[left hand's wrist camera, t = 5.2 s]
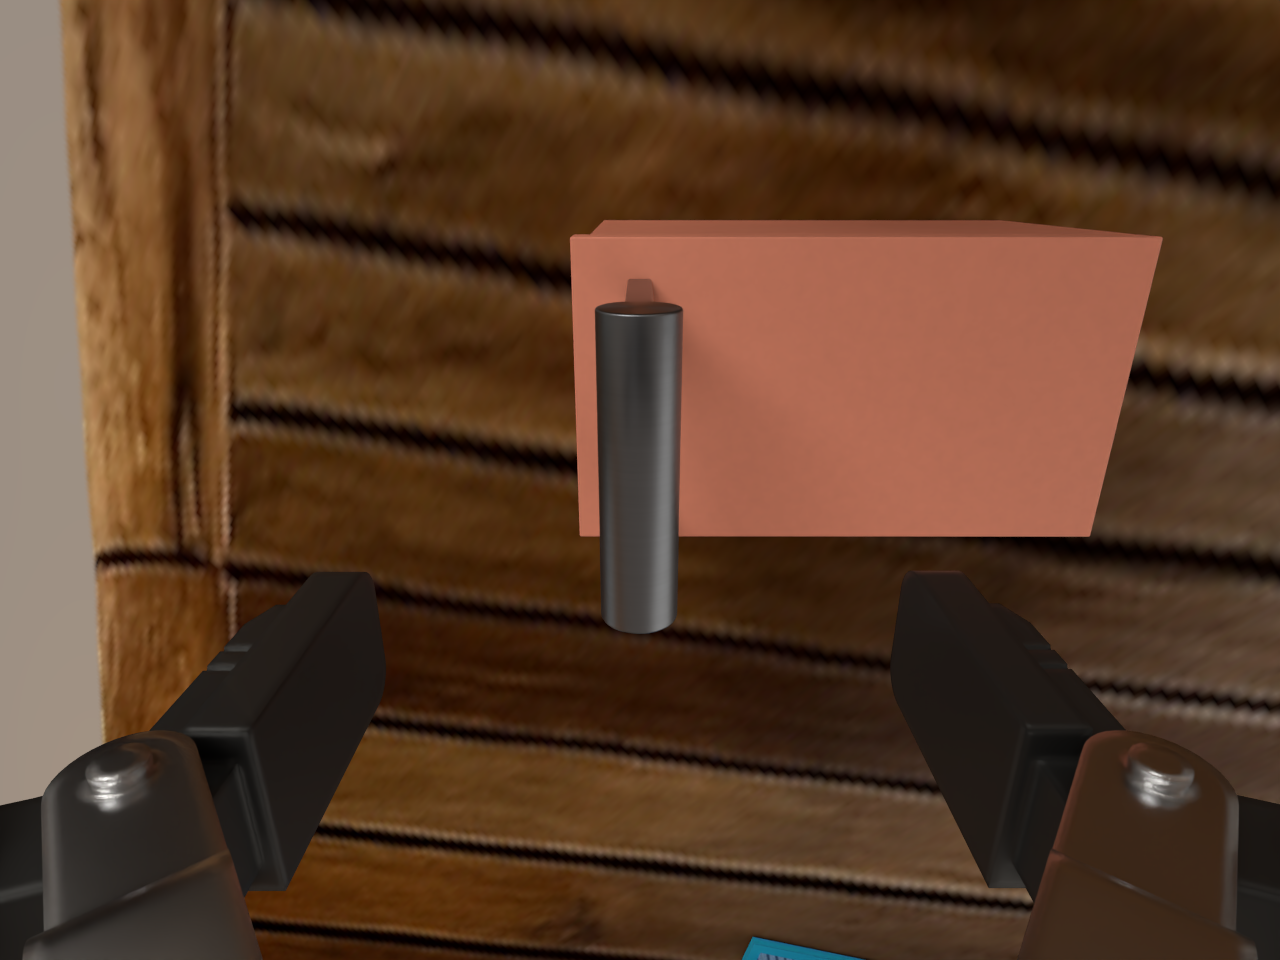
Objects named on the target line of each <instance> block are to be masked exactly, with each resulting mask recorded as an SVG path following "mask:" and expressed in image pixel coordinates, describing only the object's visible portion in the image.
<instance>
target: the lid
mask: <svg viewBox="0 0 1280 960" xmlns="http://www.w3.org/2000/svg"><path fill="white" fill-rule="evenodd" d="M1162 239H1163V238H1162V237H1157V236H1148V235H573V236H572V237H571V238H570V249H571V279H572V310H573V340H574V371H575V401H576V432H577V463H578V493H579V524H580V536H600V572H601V614H602V617H603V619H604V621H605V622H606V623H607V624H608V625H609V626H610V627H612V628H614V629H616V630H619V631H622V632H626V633H633V634H646V633H652V632H656V631H660V630H662V629H664V628H666V627H668V626H669V625H671V624H672V623H673V621H674V620H675V618H676V616H677V588H678V540H679V536H925V537H1089V536H1090V533H1091V529H1092V525H1093V521H1094V517H1095V513H1096V509H1097V505H1098V501H1099V497H1100V493H1101V488H1102V484H1103V480H1104V476H1105V472H1106V468H1107V464H1108V460H1109V456H1110V452H1111V448H1112V444H1113V439H1114V435H1115V431H1116V427H1117V423H1118V419H1119V415H1120V411H1121V407H1122V403H1123V399H1124V395H1125V390H1126V386H1127V382H1128V378H1129V374H1130V370H1131V366H1132V362H1133V358H1134V354H1135V350H1136V346H1137V341H1138V337H1139V333H1140V329H1141V325H1142V321H1143V317H1144V313H1145V309H1146V305H1147V301H1148V297H1149V292H1150V288H1151V284H1152V280H1153V276H1154V272H1155V268H1156V264H1157V260H1158V256H1159V252H1160V248H1161V243H1162Z"/></svg>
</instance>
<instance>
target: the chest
mask: <svg viewBox="0 0 1280 960" xmlns="http://www.w3.org/2000/svg"><path fill="white" fill-rule="evenodd" d="M590 235H1134V234H1127V233H1117V232H1108V231H1098V230H1088V229H1079V228H1069V227H1059V226H1050V225H1040V224H1031V223H1021V222H1011V221H1002V220H604V221H603V222H602V223H601V224H600V225H599V226H598V227H597V228H596V229H595V230H594V231H593V232H592V233H591V234H590Z"/></svg>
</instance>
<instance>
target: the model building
mask: <svg viewBox="0 0 1280 960" xmlns="http://www.w3.org/2000/svg"><path fill="white" fill-rule="evenodd" d="M742 960H864V959H859V958H854V957H849V956H845V955H840V954H835V953H830V952H825V951H820V950H815V949H810V948H805V947H801V946H796V945H791V944H786V943H781V942H776V941H771V940H766V939H761V938H757V937H753V938H752V940H751V942H750V944H749V946H748V948H747V950H746V952H745V954H744V956H743V958H742Z"/></svg>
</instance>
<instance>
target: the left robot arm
mask: <svg viewBox="0 0 1280 960" xmlns="http://www.w3.org/2000/svg"><path fill="white" fill-rule="evenodd" d="M224 648H225V649H224V652H219V654H218V655H217V656H216V657H215V658H214V659H213V660H212V661H211V662H210V664H209V665H208V666H207V667H208V668H207V671H202V673H201V674H200V675H199V676H198V677H197V678H196V679H195V680H194V681H193V683H192V684H191V685H190V686H189V687H188V688H187V689H186V690H185V692H184V693H183V694H182V695H181V696H180V697H179V698H178V699H177V700H176V702H175V703H174V704H173V705H172V706H171V707H170V708H169V709H168V710H167V712H166V713H165V714H164V715H163V716H162V717H161V718H160V719H159V721H158V722H157V723H156V724H155V725H154V726H153V727H152V728H151V729H150V731H147V732H140V733H136V734H131V735H128V736H124V737H121V738H118V739H115V740H113V741H110V742H108V743H105V744H103V745H101V746H99V747H97V748H95V749H92V750H91V751H89V752H87V753H85V754H84V755H82V756H80V757H79V758H77V759H76V760H75V761H73V762H72V763H70V764H69V765H68V766H67V767H65V768H64V769H63V770H62V771H61V772H60V773H59V774H58V775H57V776H56V777H55V778H54V779H53V780H52V781H51V783H50V784H49V786H48V787H47V788H46V790H45V792H44V795H43V796H41V797H37V798H33V799H28V800H23V801H19V802H14V803H10V804H5V805H1V806H0V960H263V959H262V956H261V952H260V949H259V946H258V942H257V939H256V936H255V933H254V929H253V926H252V923H251V919H250V916H249V913H248V909H247V906H246V903H245V900H244V897H245V895H246V893H247V892H248V891H286V889H287V887H288V885H289V883H290V881H291V879H292V877H293V875H294V873H295V871H296V869H297V867H298V865H299V863H300V861H301V859H302V857H303V855H304V853H305V851H306V849H307V847H308V845H309V843H310V841H311V839H312V837H313V835H314V833H315V831H316V829H317V827H318V825H319V823H320V821H321V819H322V817H323V815H324V813H325V811H326V809H327V807H328V805H329V803H330V801H331V799H332V797H333V795H334V793H335V791H336V789H337V787H338V785H339V783H340V781H341V779H342V777H343V775H344V773H345V771H346V769H347V767H348V765H349V763H350V761H351V759H352V757H353V755H354V753H355V751H356V749H357V747H358V745H359V743H360V741H361V739H362V737H363V735H364V733H365V731H366V729H367V727H368V725H369V723H370V721H371V719H372V717H373V715H374V713H375V711H376V709H377V707H378V705H379V703H380V701H381V698H382V694H383V690H384V685H385V675H386V662H385V654H384V648H383V641H382V634H381V627H380V621H379V614H378V607H377V600H376V594H375V588H374V583H373V580H372V578H371V576H370V575H369V574H368V573H367V572H315V573H313V574H312V575H311V576H310V577H309V578H308V579H307V581H306V582H305V583H304V584H303V585H302V587H301V588H300V589H299V590H298V591H297V593H296V594H295V595H294V596H293V597H292V599H291V600H290V601H289V602H288V603H287V604H286V605H275V606H274V607H272V608H270V609H269V610H267V611H266V612H264V613H262V614H261V615H259V616H257V617H256V618H254V619H253V620H251V621H249V622H248V623H246V624H245V625H244V626H243V627H242V628H241V629H240V630H239V631H238V632H237V633H236V635H235V636H234V637H233V638H232V639H231V640H230V641H229V642H228V644H227V645H226V646H225V647H224ZM890 670H891V682H892V688H893V692H894V696H895V699H896V701H897V704H898V706H899V708H900V710H901V712H902V714H903V716H904V718H905V720H906V722H907V724H908V726H909V728H910V730H911V732H912V734H913V736H914V738H915V740H916V742H917V744H918V746H919V748H920V750H921V752H922V754H923V756H924V758H925V760H926V762H927V764H928V766H929V768H930V770H931V772H932V774H933V776H934V778H935V780H936V782H937V784H938V786H939V788H940V790H941V792H942V794H943V797H944V799H945V801H946V803H947V805H948V807H949V809H950V811H951V813H952V815H953V817H954V819H955V821H956V823H957V825H958V827H959V829H960V831H961V833H962V835H963V837H964V839H965V841H966V843H967V845H968V847H969V849H970V851H971V853H972V855H973V857H974V859H975V861H976V863H977V865H978V867H979V869H980V871H981V873H982V875H983V877H984V879H985V881H986V883H987V885H988V887H989V888H1026V889H1027V891H1028V893H1029V895H1030V896H1031V898H1032V900H1033V902H1034V906H1033V909H1032V913H1031V916H1030V919H1029V923H1028V926H1027V929H1026V933H1025V936H1024V939H1023V942H1022V946H1021V949H1020V952H1019V956H1018V959H1017V960H1280V804H1276V803H1271V802H1267V801H1262V800H1257V799H1253V798H1248V797H1244V796H1239V795H1236V792H1235V790H1234V788H1233V787H1232V786H1231V784H1230V783H1229V781H1228V780H1227V779H1226V778H1225V777H1224V776H1223V775H1222V774H1221V773H1220V772H1219V771H1218V770H1217V769H1216V768H1215V767H1213V766H1212V765H1211V764H1210V763H1208V762H1207V761H1205V760H1204V759H1203V758H1201V757H1200V756H1198V755H1196V754H1195V753H1193V752H1191V751H1189V750H1188V749H1185V748H1183V747H1181V746H1179V745H1177V744H1175V743H1172V742H1170V741H1167V740H1165V739H1162V738H1159V737H1156V736H1152V735H1149V734H1144V733H1140V732H1133V731H1126V730H1125V729H1124V728H1123V727H1122V725H1121V724H1120V723H1119V722H1118V721H1117V720H1116V719H1115V718H1114V716H1113V715H1112V714H1111V713H1110V712H1109V711H1108V710H1107V709H1106V707H1105V706H1104V705H1103V704H1102V703H1101V702H1100V701H1099V700H1098V698H1097V697H1096V696H1095V695H1094V694H1093V693H1092V692H1091V690H1090V689H1089V688H1088V687H1087V686H1086V685H1085V684H1084V683H1083V681H1082V680H1081V679H1080V678H1079V677H1078V676H1077V675H1076V674H1075V672H1074V671H1073V670H1072V669H1068V668H1067V663H1066V662H1065V661H1064V660H1063V659H1062V658H1061V657H1060V656H1059V654H1058V653H1057V652H1056V651H1055V650H1051V648H1050V644H1049V643H1048V642H1047V641H1046V640H1045V639H1044V638H1043V636H1042V635H1041V634H1040V633H1039V632H1038V631H1037V630H1036V629H1035V627H1034V626H1033V625H1032V624H1031V623H1030V622H1028V621H1027V620H1025V619H1023V618H1022V617H1020V616H1019V615H1017V614H1015V613H1014V612H1012V611H1010V610H1009V609H1007V608H1006V607H1004V606H1002V605H1001V604H989V603H988V602H987V600H986V599H985V598H984V597H983V596H982V594H981V593H980V592H979V591H978V590H977V588H976V587H975V586H974V585H973V584H972V582H971V581H970V580H969V579H968V578H967V576H966V575H965V574H964V573H963V572H961V571H908V572H907V573H906V575H905V576H904V579H903V582H902V586H901V593H900V599H899V606H898V613H897V620H896V627H895V634H894V640H893V647H892V654H891V665H890Z"/></svg>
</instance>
